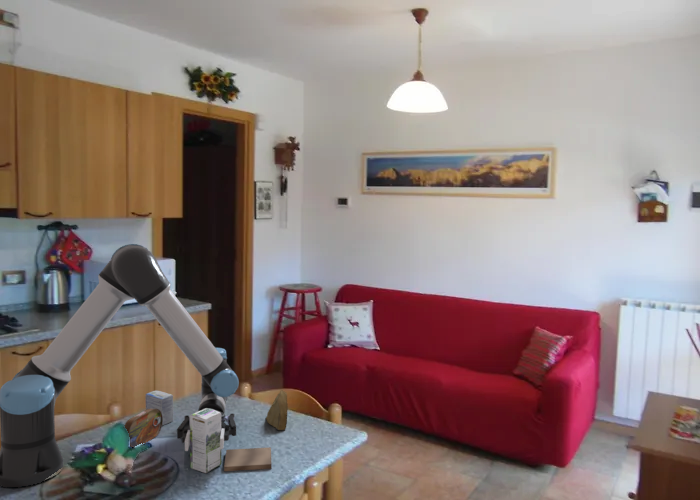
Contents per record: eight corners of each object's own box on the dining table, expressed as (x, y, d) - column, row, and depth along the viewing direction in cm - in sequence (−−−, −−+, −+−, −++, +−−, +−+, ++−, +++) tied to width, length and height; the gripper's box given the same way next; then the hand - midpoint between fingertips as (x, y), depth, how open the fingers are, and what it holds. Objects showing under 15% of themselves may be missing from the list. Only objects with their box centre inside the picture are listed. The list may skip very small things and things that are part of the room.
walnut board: (224, 471, 142) (224, 466, 142) (226, 453, 152) (226, 449, 152) (271, 468, 144) (271, 464, 144) (270, 451, 154) (270, 447, 154)
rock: (294, 424, 167) (300, 408, 177) (276, 403, 166) (283, 388, 175) (266, 443, 169) (273, 425, 179) (249, 421, 168) (257, 405, 178)
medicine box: (173, 421, 174) (173, 394, 173) (162, 426, 170) (161, 398, 169) (157, 416, 178) (156, 389, 177) (145, 420, 174) (145, 393, 173)
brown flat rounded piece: (129, 453, 151) (129, 423, 150) (120, 451, 152) (119, 422, 151) (163, 432, 165) (163, 404, 165) (154, 430, 166) (154, 403, 166)
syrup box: (206, 459, 148) (204, 406, 147) (222, 465, 145) (221, 411, 144) (190, 468, 143) (188, 414, 142) (206, 474, 140) (205, 418, 139)
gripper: (247, 421, 163) (246, 456, 141) (174, 425, 160) (161, 461, 137) (247, 396, 163) (246, 428, 140) (174, 400, 159) (160, 432, 137)
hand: (204, 444), depth 139 cm, fingers closed on syrup box, 8 cm apart
